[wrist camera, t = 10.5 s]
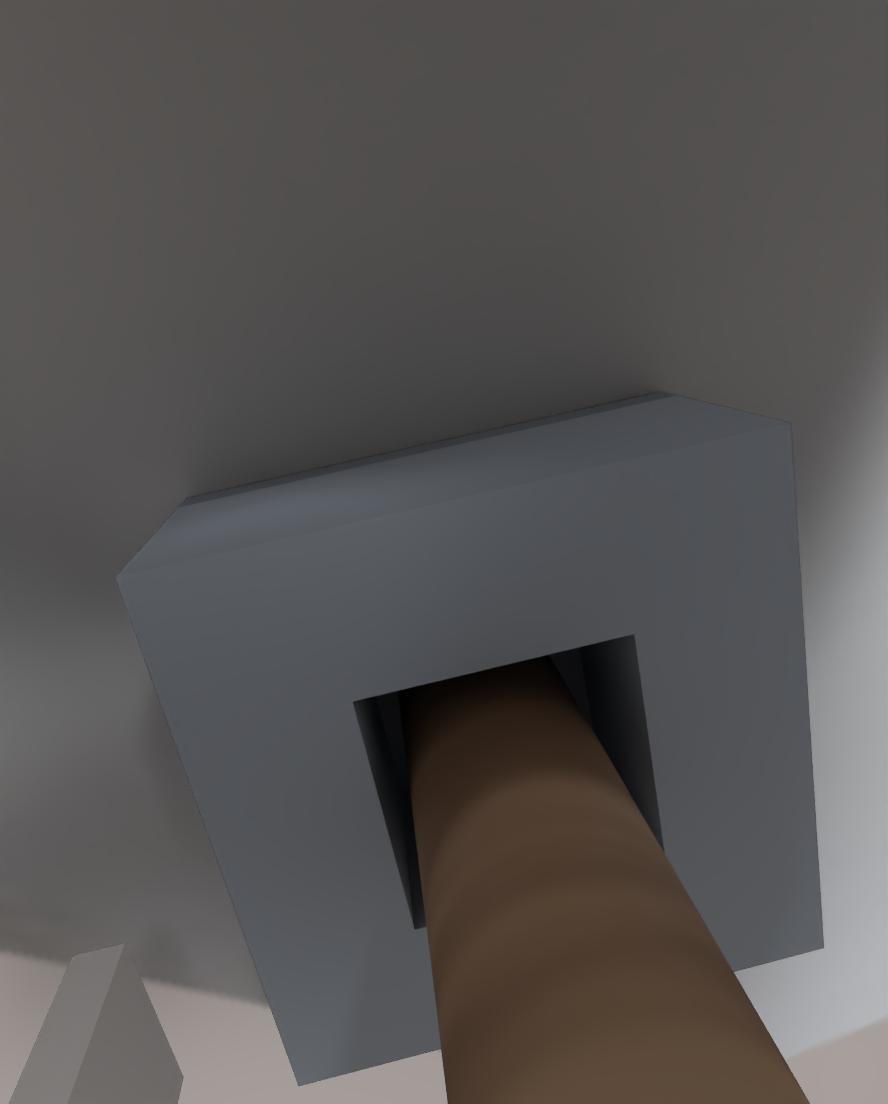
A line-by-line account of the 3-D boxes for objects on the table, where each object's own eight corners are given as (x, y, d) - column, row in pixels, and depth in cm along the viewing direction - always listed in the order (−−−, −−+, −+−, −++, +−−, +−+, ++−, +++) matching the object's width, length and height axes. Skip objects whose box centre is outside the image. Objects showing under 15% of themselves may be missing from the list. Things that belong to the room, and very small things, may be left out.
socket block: (187, 498, 19) (114, 577, 13) (661, 391, 19) (791, 423, 14) (312, 890, 22) (298, 1086, 17) (707, 791, 23) (823, 947, 17)
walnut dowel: (381, 630, 19) (462, 1530, 5) (535, 592, 19) (1044, 1354, 5) (417, 765, 20) (564, 1795, 6) (562, 728, 21) (1031, 1647, 6)
